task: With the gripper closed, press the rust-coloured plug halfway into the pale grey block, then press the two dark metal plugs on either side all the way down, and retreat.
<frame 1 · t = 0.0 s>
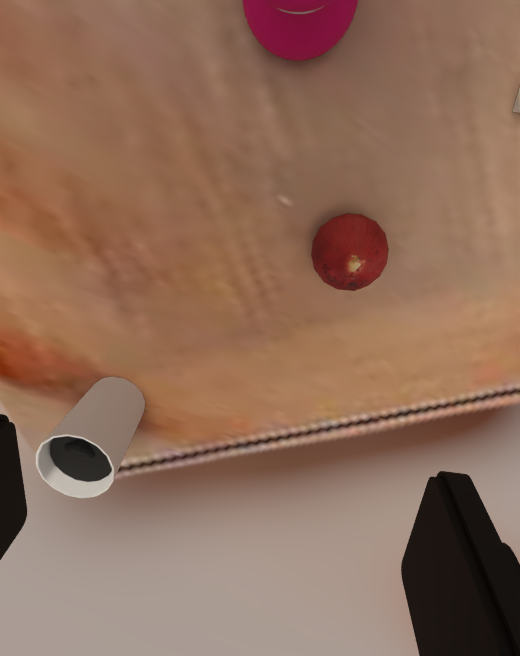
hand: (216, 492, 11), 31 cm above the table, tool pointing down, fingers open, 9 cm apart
drinking glass: (118, 399, 48), on the table
pepper mill: (299, 9, 33), on the table
onion: (344, 240, 39), on the table
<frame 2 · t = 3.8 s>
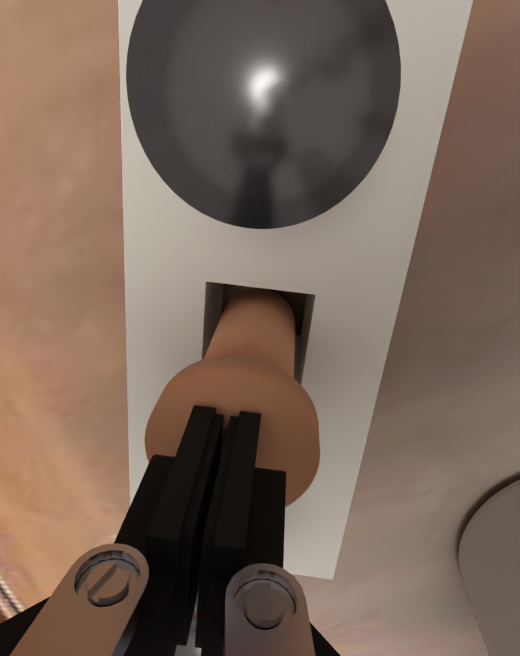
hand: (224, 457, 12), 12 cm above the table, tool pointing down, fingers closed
rust plug: (248, 372, 15), point 8 cm above the table, slide at 0.9 cm, touching gripper
grey plug 1: (273, 100, 11), point 9 cm above the table, slide at 0.0 cm
grey plug 2: (227, 564, 18), point 9 cm above the table, slide at 0.0 cm
block: (264, 292, 22), on the table
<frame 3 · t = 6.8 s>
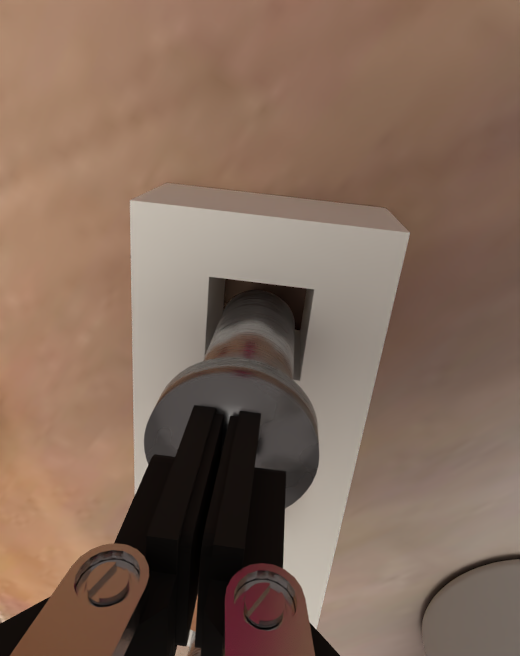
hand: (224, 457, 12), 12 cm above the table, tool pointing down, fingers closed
rust plug: (235, 512, 20), point 7 cm above the table, slide at 1.9 cm
grey plug 1: (247, 374, 15), point 8 cm above the table, slide at 0.1 cm, touching gripper
cylinder vase: (513, 615, 31), on the table
block: (250, 422, 26), on the table
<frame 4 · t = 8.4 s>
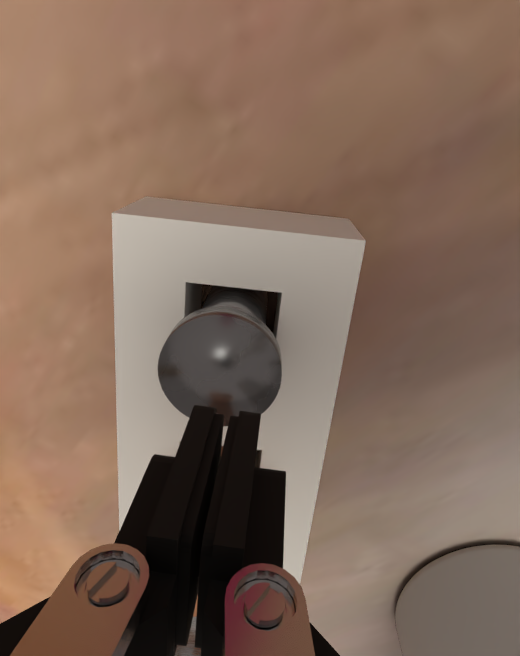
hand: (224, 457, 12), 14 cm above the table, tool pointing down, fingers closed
rust plug: (213, 502, 22), point 7 cm above the table, slide at 1.9 cm
grey plug 1: (230, 329, 20), point 5 cm above the table, slide at 3.7 cm
grey plug 2: (198, 654, 23), point 9 cm above the table, slide at 0.0 cm
cylinder vase: (481, 601, 33), on the table
block: (228, 420, 28), on the table
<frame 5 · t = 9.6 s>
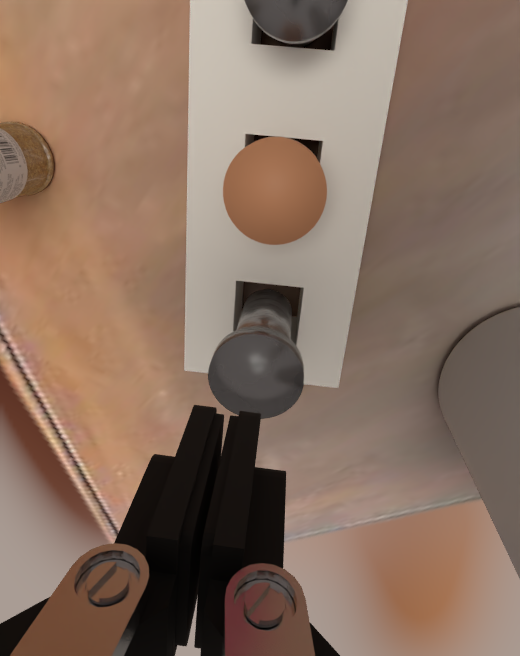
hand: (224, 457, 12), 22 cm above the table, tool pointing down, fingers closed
rust plug: (278, 181, 23), point 7 cm above the table, slide at 1.9 cm
grey plug 2: (262, 340, 25), point 9 cm above the table, slide at 0.0 cm
block: (283, 168, 29), on the table
sprinkles bottle: (24, 159, 31), on the table
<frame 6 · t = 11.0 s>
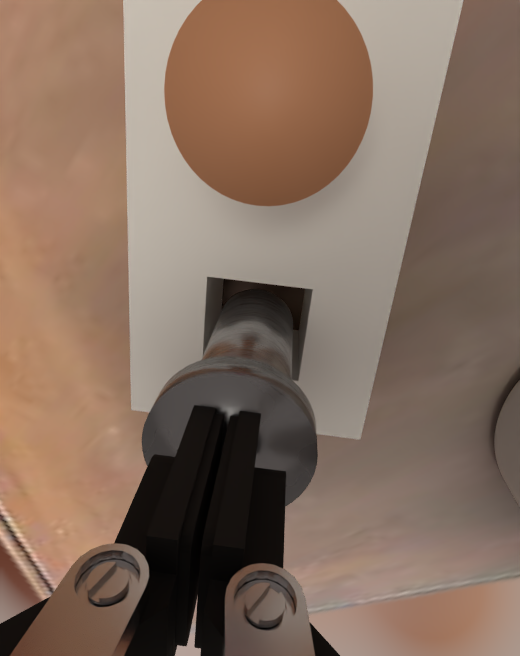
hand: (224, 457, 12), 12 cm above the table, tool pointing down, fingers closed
rust plug: (275, 105, 13), point 7 cm above the table, slide at 1.9 cm
grey plug 2: (245, 373, 15), point 8 cm above the table, slide at 0.2 cm, touching gripper
block: (283, 109, 19), on the table
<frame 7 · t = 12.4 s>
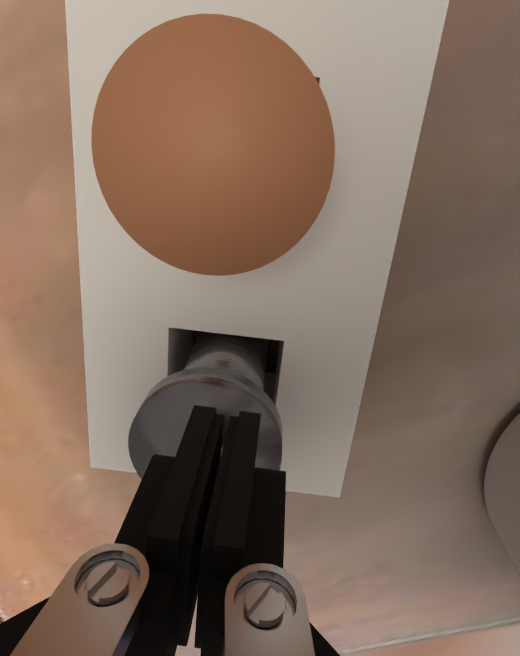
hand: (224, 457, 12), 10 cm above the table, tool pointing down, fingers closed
rust plug: (235, 149, 12), point 7 cm above the table, slide at 1.9 cm
grey plug 2: (223, 382, 17), point 5 cm above the table, slide at 3.7 cm
block: (253, 142, 18), on the table
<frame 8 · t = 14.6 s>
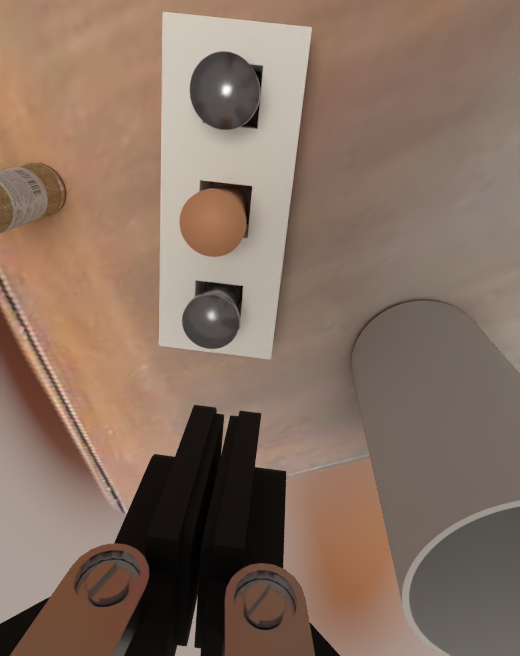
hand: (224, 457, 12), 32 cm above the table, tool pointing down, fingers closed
rust plug: (221, 213, 35), point 7 cm above the table, slide at 1.9 cm
grey plug 1: (232, 95, 33), point 5 cm above the table, slide at 3.7 cm
grey plug 2: (218, 304, 39), point 5 cm above the table, slide at 3.7 cm
cylinder vase: (414, 356, 46), on the table
block: (232, 199, 41), on the table
sprinkles bottle: (43, 189, 42), on the table
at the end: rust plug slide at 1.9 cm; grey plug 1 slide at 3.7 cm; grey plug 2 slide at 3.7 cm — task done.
